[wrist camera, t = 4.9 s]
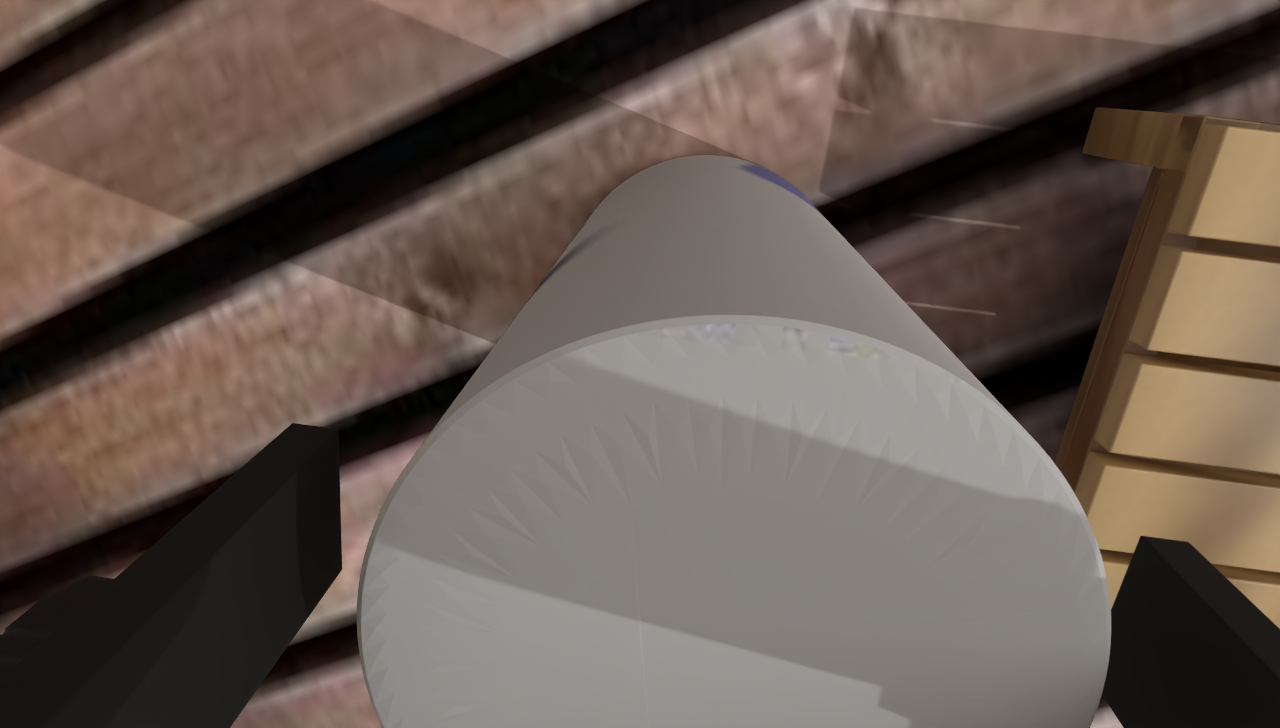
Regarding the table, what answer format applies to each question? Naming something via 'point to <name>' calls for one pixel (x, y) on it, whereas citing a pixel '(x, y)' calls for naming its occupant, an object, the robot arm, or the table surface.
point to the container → (728, 501)
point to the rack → (1188, 354)
